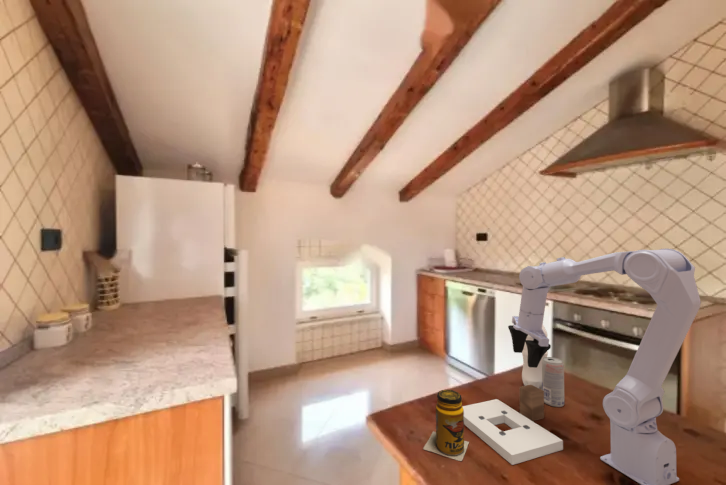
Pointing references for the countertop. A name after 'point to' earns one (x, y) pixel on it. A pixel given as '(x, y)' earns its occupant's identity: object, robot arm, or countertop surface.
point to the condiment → (448, 427)
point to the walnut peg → (531, 402)
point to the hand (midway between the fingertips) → (524, 359)
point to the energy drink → (553, 381)
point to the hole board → (510, 432)
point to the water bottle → (530, 373)
